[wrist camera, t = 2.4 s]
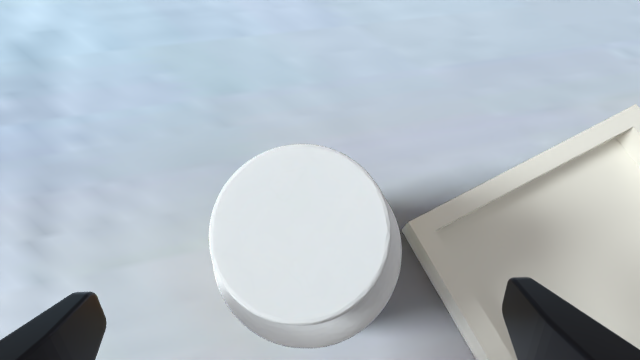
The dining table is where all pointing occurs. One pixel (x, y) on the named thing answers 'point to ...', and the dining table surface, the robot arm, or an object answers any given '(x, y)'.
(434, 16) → the dining table surface
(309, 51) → the dining table surface
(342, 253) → the supplement bottle
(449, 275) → the dish
